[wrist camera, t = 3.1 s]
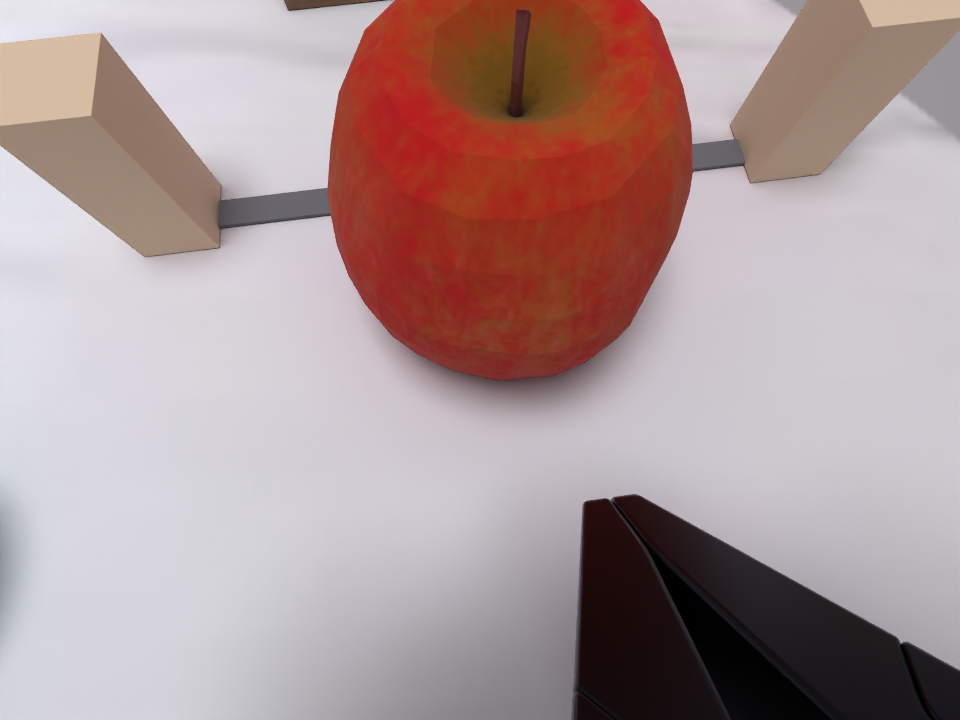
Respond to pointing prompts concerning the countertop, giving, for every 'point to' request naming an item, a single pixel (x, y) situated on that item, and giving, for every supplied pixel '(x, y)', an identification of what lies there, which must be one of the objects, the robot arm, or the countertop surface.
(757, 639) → the robot arm
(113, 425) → the countertop surface
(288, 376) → the countertop surface
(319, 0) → the batten
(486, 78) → the apple
